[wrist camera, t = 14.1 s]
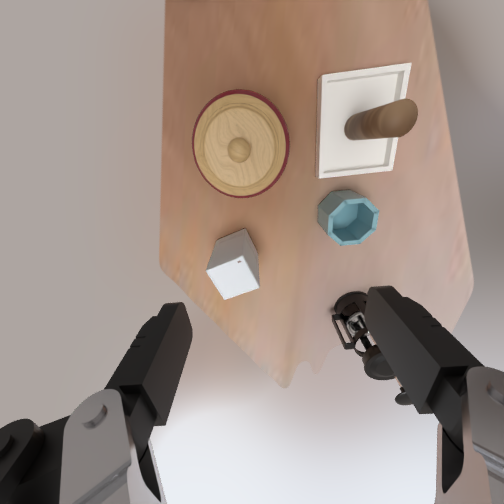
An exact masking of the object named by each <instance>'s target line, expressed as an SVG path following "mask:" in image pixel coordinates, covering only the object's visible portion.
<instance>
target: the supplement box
mask: <svg viewBox="0 0 504 504" xmlns="http://www.w3.org/2000/svg"><path fill="white" fill-rule="evenodd" d="M206 272H207V274H208V275H209V277H210V278H211V280H212V282H213V283H214V285H215V286H216V288H217V289H218V291H219V292H220V294H221V295H222V297H223V299H224V300H226V299H229V298H232V297H234V296H237V295H240V294H243V293H245V292H249V291H252V290H255V289H258V288H259V287H260V284H259V263H258V253H257V250H256V248H255V246H254V244H253V242H252V240H251V238H250V236H249V234H248V232H247V230H246V228H245V229H242V230H240V231H237V232H235V233H233V234H230V235H228V236H225V237H223V238H221V239H218V240H217V241H216V243H215V246H214V249H213V252H212V255H211V257H210V260H209V263H208V266H207V269H206Z"/></svg>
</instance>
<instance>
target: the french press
mask: <svg viewBox="0 0 504 504" xmlns="http://www.w3.org/2000/svg"><path fill="white" fill-rule="evenodd" d="M367 296H368V295H367V294H365V293H363V292H350V293H347V294H345V295H343V296H342V297H340V298H339V299H338V300H337V302H336V304H335V308H334V309H335V313H336V314H334V315H332V322H333V324H334V326H335V329H336V331H337V333H338V335H339V338H340V340H341V342H342V344H343V347H344V349H354V350H355V352H356V353H357V354H358V355H359V356H361V357H363V358H362V361H363V363H364V370H365V372H366V374H367V375H368V376H369V377H371V378H373V379H377V380H389V379H394V378H396V380H397V382H398V383H399V385H400V386H401V388H400V390H401V393H400V394H398V395H397V396H396V398H395V401H396V402H397V403H398V404H400V405H411V404H413V403H412V401H411V400H410V398H409V396H408V395H407V393H406V392H405V390H404V388H403V387H402V385H401V383H400V382H399V380H398V378H397V377H396V375H395V373H394V372H393V370H392V369H391V367H390V365H389V364H388V362H387V360H386V359H385V357H384V355H383V354H382V352H381V351H380V349H379V347H378V346H377V344H376V342H375V341H374V339H373V337H372V336H371V334H370V332H369V331H368V329H367V327H366V324H365V319H364V313H365V307H366V305H365V304H364V302H367ZM363 301H364V302H363ZM352 303H356V305H357V306H358V308H359V309H360V311H357V312H355V313H353V314H352V315H351V316H345V315H343V314H342V311H343V310H344V309H345V308H346V307H347V306H348V305H350V304H352ZM335 320H340V321H341V323H342V325H343V327H344V329H345V331H346V333H347V335H348V337H349V339H350V341H351V343H346V342H345V341H344V338H343V336H342V334H341V332H340V330H339V327H338V325H337V323H336V321H335ZM351 335H352V336H353V338H352V336H351ZM369 335H370V337H371V338H372V340H373V342H374V343H375V345H374V346H372V345H371V344H370V341H369V340H368V338H367V336H369ZM359 338H360V340H361V342H362V344H363V345H364V347H365V349H366V352H361V351H358V350H357V349H355V345H356V342H357V341H358V339H359Z"/></svg>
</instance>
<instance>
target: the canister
mask: <svg viewBox="0 0 504 504" xmlns="http://www.w3.org/2000/svg"><path fill="white" fill-rule="evenodd" d="M192 149H193V155H194V159H195V162H196V165H197V167H198V169H199V171H200V173H201V175H202V176H203V178H204V179H205V180H206V181H207V182H208V183H209V184H210V185H211V186H212V187H213V188H214V189H216V190H217V191H219V192H220V193H222V194H225V195H227V196H230V197H235V198H249V197H254V196H257V195H259V194H262V193H263V192H265V191H267V190H268V189H269V188H271V187H272V186H273V185H274V184H275V183H276V182H277V181H278V179H279V178H280V176H281V175H282V173H283V171H284V169H285V167H286V164H287V161H288V157H289V149H290V141H289V133H288V129H287V126H286V123H285V121H284V118H283V116H282V115H281V113H280V112H279V110H278V109H277V108H276V106H275V105H274V104H273V103H272V102H271V101H270V100H268V99H267V98H266V97H264V96H262V95H261V94H258V93H256V92H253V91H250V90H243V89H236V90H230V91H226V92H223V93H221V94H219V95H217V96H216V97H214V98H213V99H212V100H210V101H209V102H208V103H207V104H206V105H205V107H204V108H203V109H202V111H201V112H200V114H199V116H198V118H197V120H196V123H195V126H194V130H193V136H192Z"/></svg>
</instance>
